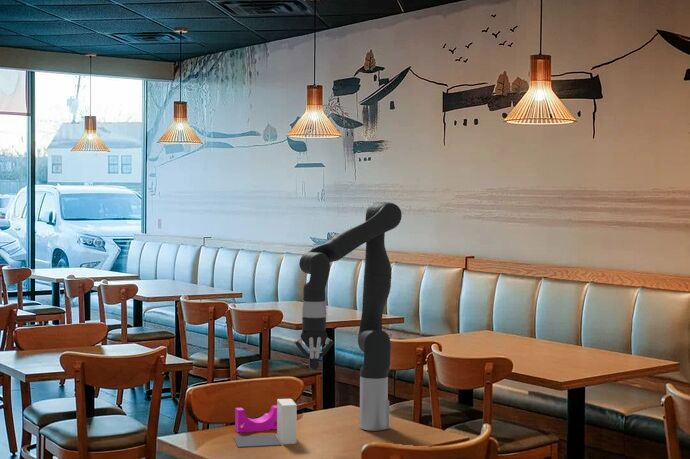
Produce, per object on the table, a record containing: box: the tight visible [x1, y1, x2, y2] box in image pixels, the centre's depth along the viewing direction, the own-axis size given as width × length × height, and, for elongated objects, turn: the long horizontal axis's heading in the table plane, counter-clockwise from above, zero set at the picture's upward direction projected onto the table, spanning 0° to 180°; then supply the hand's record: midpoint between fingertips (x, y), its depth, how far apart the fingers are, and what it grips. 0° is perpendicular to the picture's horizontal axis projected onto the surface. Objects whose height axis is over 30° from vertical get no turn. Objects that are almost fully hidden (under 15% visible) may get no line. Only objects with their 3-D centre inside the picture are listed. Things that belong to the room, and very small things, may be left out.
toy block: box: [234, 404, 277, 433], centre depth 299 cm, size 15×6×8 cm, turn 111°
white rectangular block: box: [276, 398, 298, 445], centre depth 284 cm, size 4×10×12 cm, turn 13°
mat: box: [232, 434, 283, 448], centre depth 282 cm, size 13×13×1 cm
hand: (313, 369), depth 286 cm, fingers closed
